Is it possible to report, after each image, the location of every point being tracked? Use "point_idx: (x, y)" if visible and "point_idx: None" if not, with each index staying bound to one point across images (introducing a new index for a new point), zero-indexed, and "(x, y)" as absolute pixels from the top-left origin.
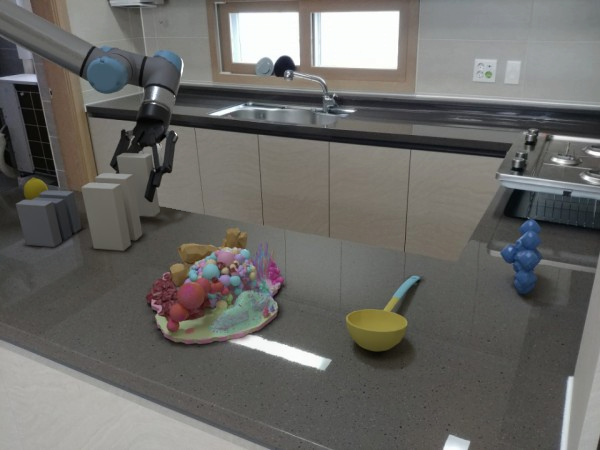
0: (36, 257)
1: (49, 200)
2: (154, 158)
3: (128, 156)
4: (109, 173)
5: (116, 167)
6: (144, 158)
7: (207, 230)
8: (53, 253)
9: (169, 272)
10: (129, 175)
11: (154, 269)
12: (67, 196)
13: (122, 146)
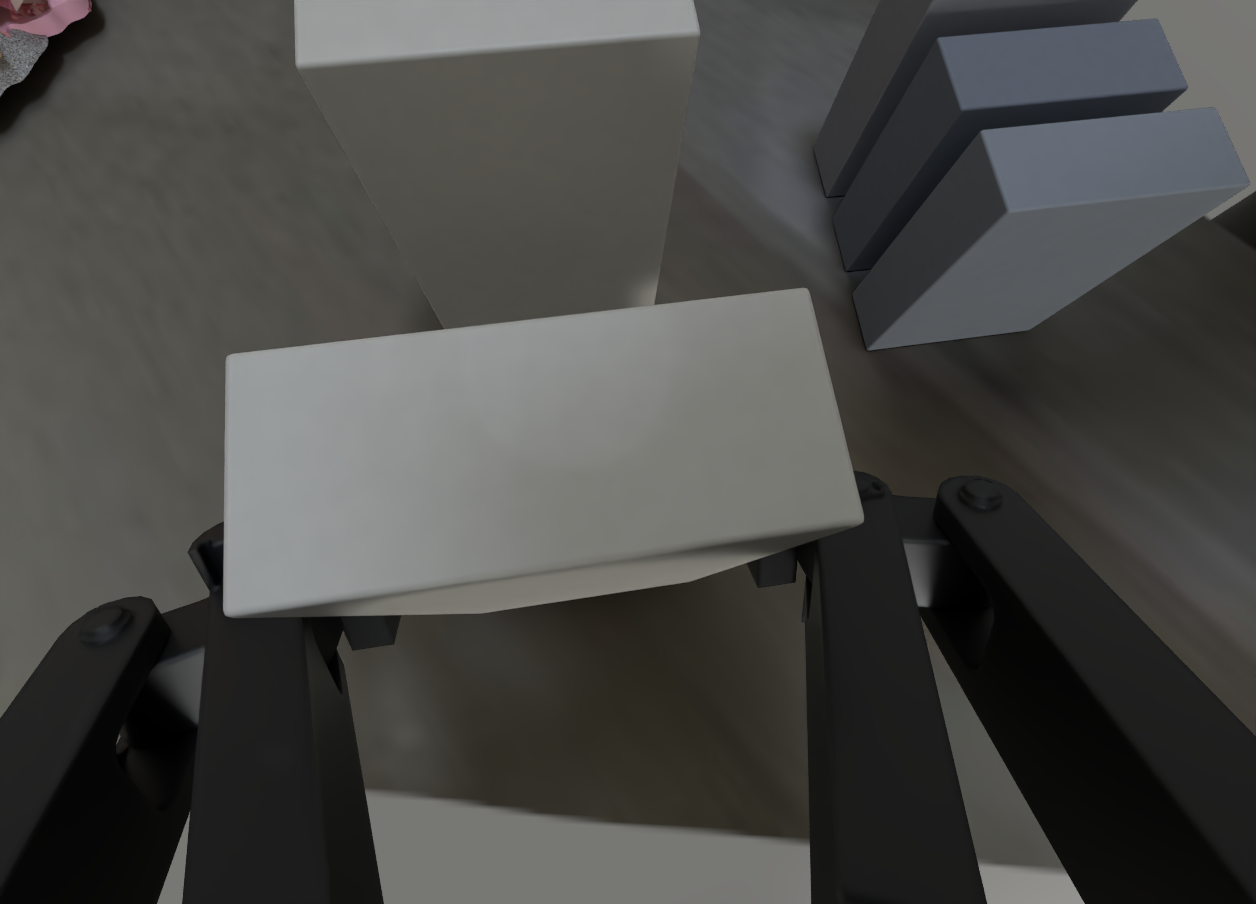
0: (803, 57)
1: (1033, 60)
2: (284, 696)
3: (592, 337)
4: (605, 31)
5: (877, 481)
6: (252, 357)
7: (100, 545)
8: (764, 101)
9: (56, 5)
10: (307, 23)
11: (204, 95)
12: (975, 141)
13: (1171, 817)
